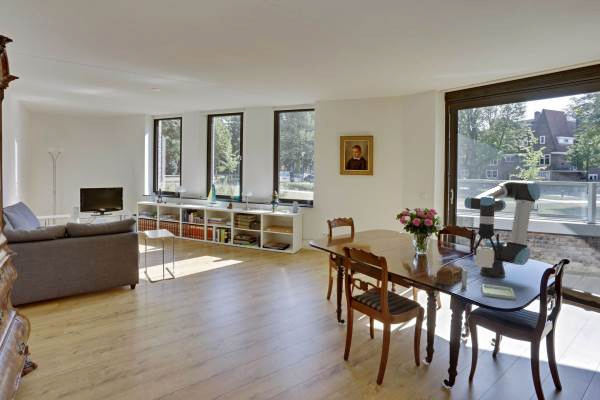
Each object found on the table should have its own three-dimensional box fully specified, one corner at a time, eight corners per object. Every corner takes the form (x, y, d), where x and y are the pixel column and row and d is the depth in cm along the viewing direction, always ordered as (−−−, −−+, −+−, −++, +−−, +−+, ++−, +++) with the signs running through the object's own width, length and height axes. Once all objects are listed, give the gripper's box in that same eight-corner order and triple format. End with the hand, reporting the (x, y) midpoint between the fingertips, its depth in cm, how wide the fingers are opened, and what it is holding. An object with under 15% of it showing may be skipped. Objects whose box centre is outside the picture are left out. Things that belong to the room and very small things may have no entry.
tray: (481, 287, 231) (481, 284, 230) (511, 290, 224) (511, 287, 224) (483, 295, 216) (483, 292, 216) (515, 299, 210) (515, 296, 210)
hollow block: (476, 262, 227) (477, 246, 226) (491, 264, 224) (492, 247, 223) (476, 266, 220) (477, 249, 219) (492, 267, 216) (493, 250, 215)
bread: (452, 287, 232) (452, 271, 231) (435, 283, 239) (435, 267, 238) (463, 280, 245) (463, 265, 244) (446, 276, 252) (447, 262, 251)
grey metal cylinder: (460, 287, 230) (461, 269, 228) (467, 288, 228) (468, 270, 227) (460, 289, 226) (461, 270, 225) (467, 290, 225) (468, 271, 224)
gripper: (466, 222, 220) (465, 261, 223) (507, 225, 211) (505, 265, 214) (467, 220, 227) (465, 258, 229) (506, 223, 218) (504, 262, 221)
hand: (484, 261), depth 222 cm, fingers closed on hollow block, 8 cm apart
